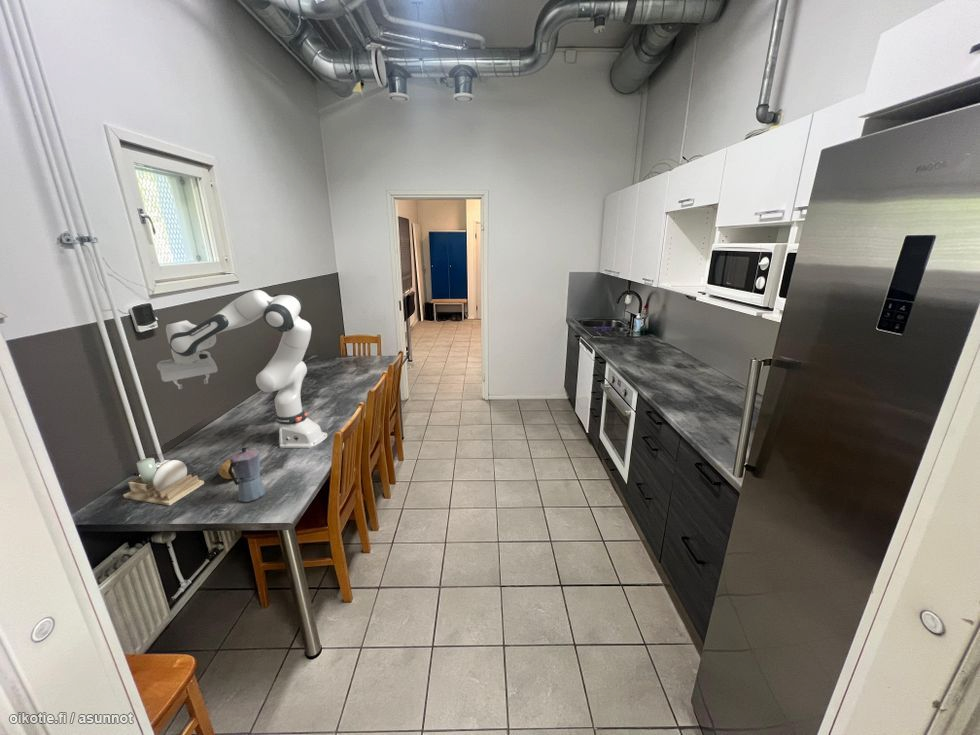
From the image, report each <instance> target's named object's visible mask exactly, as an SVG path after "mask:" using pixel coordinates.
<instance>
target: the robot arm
mask: <svg viewBox="0 0 980 735" xmlns="http://www.w3.org/2000/svg"><path fill="white" fill-rule="evenodd" d="M302 309H303V303H302V299H301V298H300V297H299V296H297V294H293V293H276V294H274V295H273V296H270V295H269V294H268V293H267V292H265V291H263V290H262V289H261V290H260V289H254V290H251V291H248V292H246V293H244V294H242V295H241V296H239V297H237V298H235V299H234V300H232V301H231V302H230V303H228V304H227V305H225V306H224V307H223V308H222V309H220V310H219V311H218V312H217V313H214V314H213V316H211V317H209V318H207V319H206V320H204V321H203V322H201V323H199V324H194V323H191V321H189V320H187V319H181V320H176V321H171V322H168V323H167V324H166V325H165V326H166V327H165V333H166V337H167V341H168V344H169V345H170V348H171V350H170V352H171V356H172V358H170V359H164V360H160V361H158V362H157V363H156V368H157V370H158V371H159V372H160V378H161V381H162V382H164V383H166V382H167V383H168V382H173V383H174V384H175V385H176V386H177V388H178V390H182V389H183V384H182V383H178V382H179V381H178V380H184V379H189V378H193V377H198V376H203V375H205V378H204V379H203V384H204V385H208V384H209V379H210V376H211V375H210V374H213V373H217V372H218V370H219V369H218V366H217V364H216V362H215V359H213V357H212V356H211V353H210V352H209V351H207V350H206V349H209V348H212V347H214V346H215V345H216V344H217V342H218V341H217V340H218V338H217V334H220V333H223V332H226V331H230V330H234V329H238V328H242V327H244V326H247V325H249V324H252V323H254V322H255V321H257V320H258V319H260V318H261V317H262V318H263V320H264V322H265V324H266V325H267V326H269V327H270V328H273V329H274V330H277V331H279V332H281V333H282V335H281V339H280V341H279V344H278V347H277V350H275V353H274V355H273V356H272V358H271V359H270V360H269V362H268V363H267V364H266V366H265V367H264V368H263V369H262V370H261V371H260V372H259V373H257V375H256V376H255V383H256V385H257V388H259V390H260V391H262V392H264V393H271V392H272V393H273V392H276V391H278V392H277V394H276V396H275V398H274V405H275V411H276V415H275V417H276V422H277V423H278V434H279V436H278V444H279V448H280V449H312V448H314V447H316V446H318V445H319V444H321V443H322V442H323V441H324V440H326V439H327V437H328V433H327V432H324V431H322V429H321V426H320V425H319V424H318V423H317V422H315V421H314V420H312V419H310V418H309V417H308V416H307V415H309V414H308V411H307V412H305V410H304V409H303V407H302V406H303V405H302V400H301V391H302V385H303V381H304V378H305V377H306V375H307V373H308V368H307V365H306V363H305V362H304V361H303V360H304V358H305V357H304V356H305V354H306V351H307V349H308V347H309V345H310V344H309V343H310V340H311V336H312V324H310V323H309V322H308V321H307V320H305V319H304V318H303V319H302V318H301V317H300V316H299V315H300V314H301V312H302Z"/></svg>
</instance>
